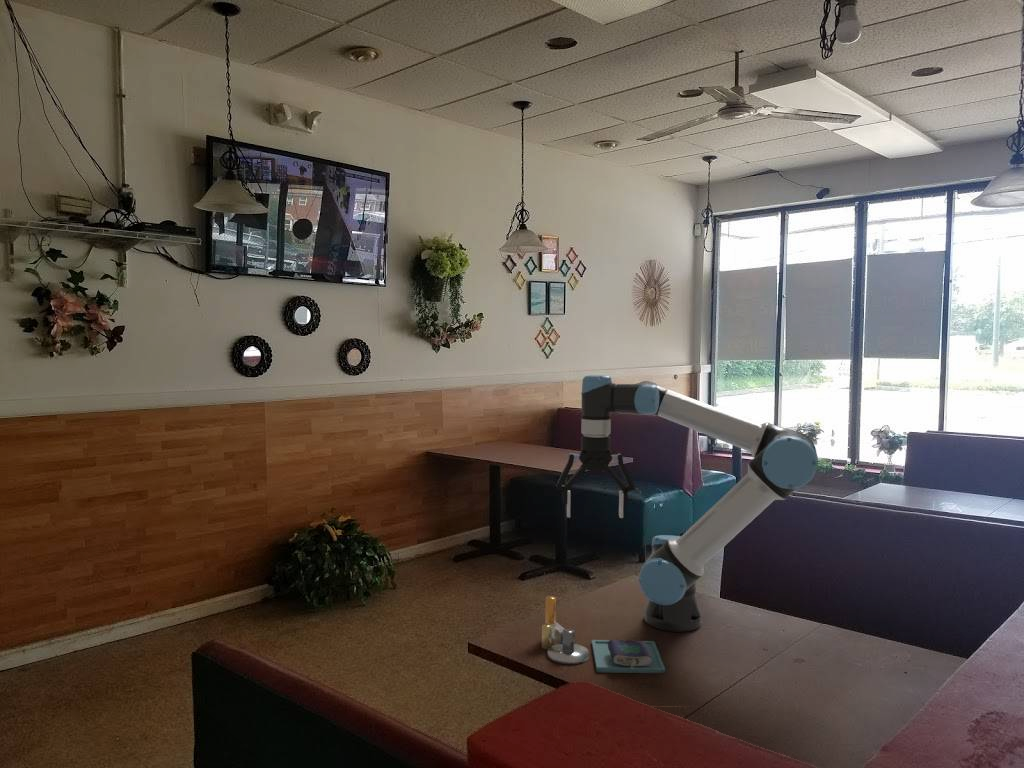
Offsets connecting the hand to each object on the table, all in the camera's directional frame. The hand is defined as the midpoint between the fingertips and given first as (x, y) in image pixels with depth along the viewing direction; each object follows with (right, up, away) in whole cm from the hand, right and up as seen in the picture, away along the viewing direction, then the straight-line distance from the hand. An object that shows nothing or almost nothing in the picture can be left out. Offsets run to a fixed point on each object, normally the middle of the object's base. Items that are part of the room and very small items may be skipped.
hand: (594, 516), depth 192 cm
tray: (+6, -32, -14) cm, 35 cm away
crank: (-10, -29, -6) cm, 32 cm away
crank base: (-8, -31, -13) cm, 35 cm away
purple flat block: (+6, -32, -14) cm, 35 cm away
